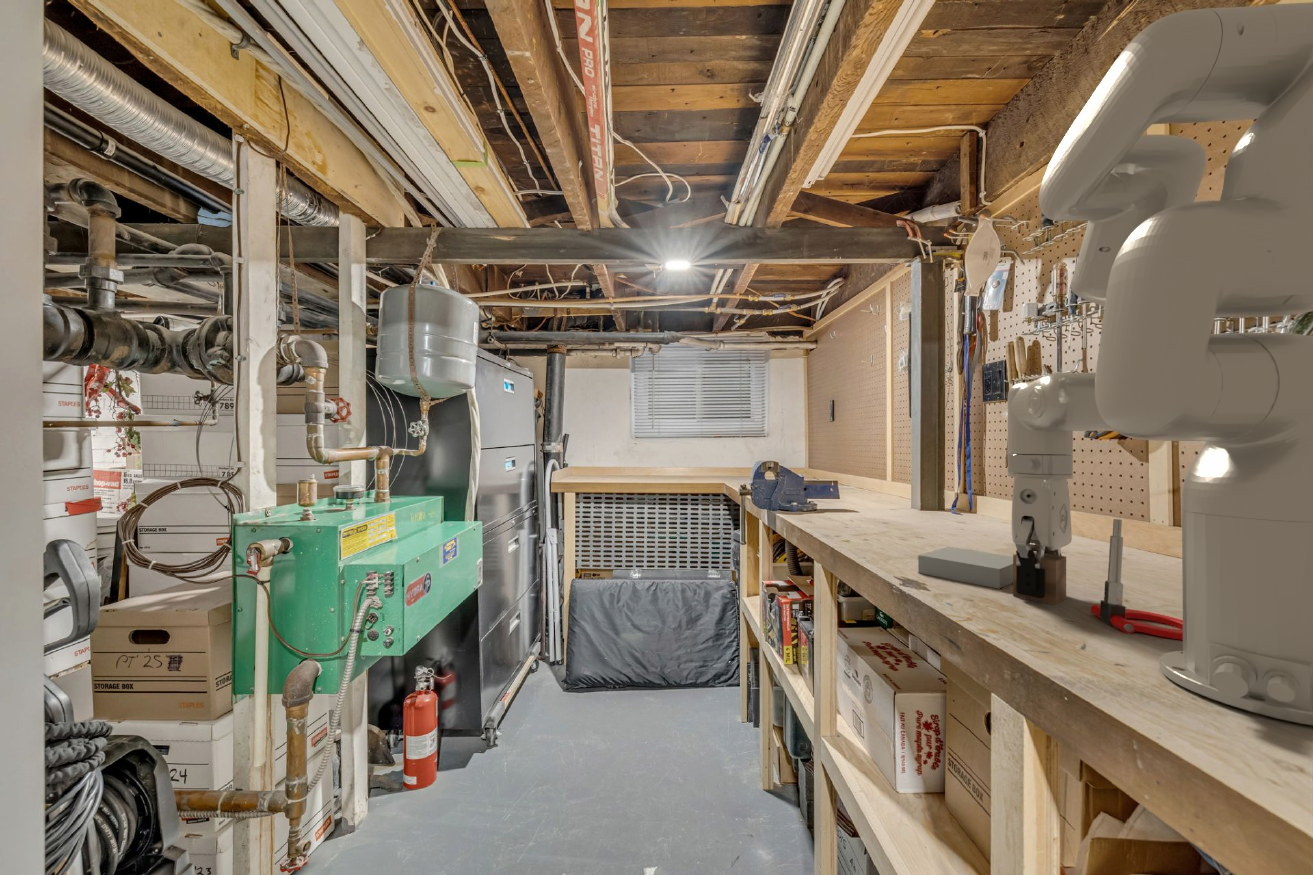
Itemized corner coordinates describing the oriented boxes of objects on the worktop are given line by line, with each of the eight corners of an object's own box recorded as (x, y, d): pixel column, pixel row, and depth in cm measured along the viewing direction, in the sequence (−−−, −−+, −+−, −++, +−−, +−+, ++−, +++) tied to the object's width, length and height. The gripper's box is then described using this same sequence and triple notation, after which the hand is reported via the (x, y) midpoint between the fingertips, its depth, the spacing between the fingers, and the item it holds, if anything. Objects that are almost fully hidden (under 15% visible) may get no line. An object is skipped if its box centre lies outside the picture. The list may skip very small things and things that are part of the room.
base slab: (999, 589, 77) (999, 569, 77) (918, 572, 86) (918, 555, 86) (1025, 576, 84) (1025, 558, 84) (948, 563, 94) (948, 546, 94)
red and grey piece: (1172, 623, 64) (1085, 612, 66) (1178, 521, 64) (1090, 514, 66) (1227, 649, 56) (1125, 636, 58) (1233, 532, 56) (1131, 524, 58)
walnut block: (1055, 605, 69) (1055, 561, 69) (1013, 596, 73) (1013, 554, 73) (1066, 598, 72) (1066, 556, 73) (1024, 590, 76) (1024, 550, 76)
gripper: (1053, 470, 65) (1053, 609, 65) (1088, 467, 76) (1088, 586, 75) (986, 467, 71) (987, 595, 70) (1028, 465, 81) (1028, 576, 81)
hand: (1039, 590), depth 73 cm, fingers open, 7 cm apart
